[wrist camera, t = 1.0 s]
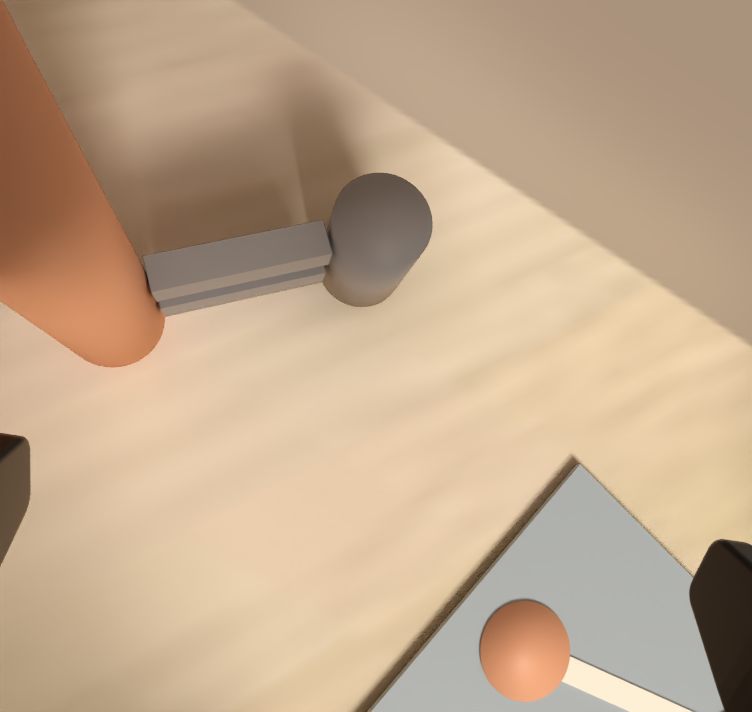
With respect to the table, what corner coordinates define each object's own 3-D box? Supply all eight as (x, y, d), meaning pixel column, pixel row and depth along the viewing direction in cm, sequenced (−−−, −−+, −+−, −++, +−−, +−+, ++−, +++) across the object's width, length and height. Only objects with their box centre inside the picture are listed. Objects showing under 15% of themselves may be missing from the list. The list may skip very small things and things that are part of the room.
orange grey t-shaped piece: (387, 216, 23) (579, -158, 9) (411, 299, 23) (647, 34, 9) (54, 285, 21) (-327, -82, 7) (74, 378, 20) (-286, 179, 7)
